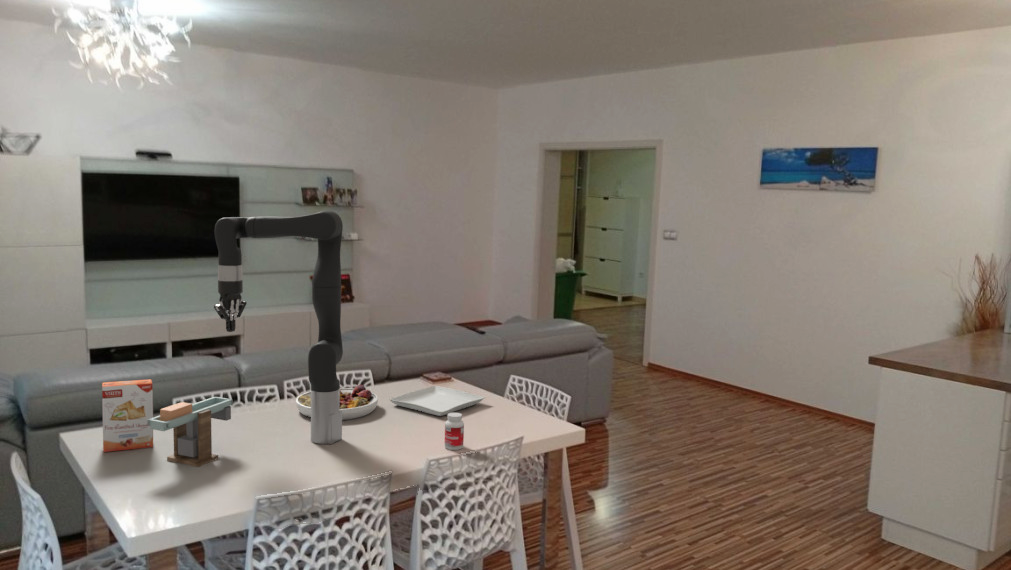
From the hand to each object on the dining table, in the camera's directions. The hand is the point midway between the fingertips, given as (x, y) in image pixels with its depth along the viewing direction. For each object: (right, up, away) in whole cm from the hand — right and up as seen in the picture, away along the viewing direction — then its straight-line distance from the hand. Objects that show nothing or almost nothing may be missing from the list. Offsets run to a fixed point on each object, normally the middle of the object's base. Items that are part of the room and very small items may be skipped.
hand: (230, 331), depth 241 cm
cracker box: (-28, -36, -11) cm, 47 cm away
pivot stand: (-4, -37, -19) cm, 42 cm away
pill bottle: (+73, -38, -1) cm, 83 cm away
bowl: (+27, -33, +36) cm, 55 cm away
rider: (-6, -24, -27) cm, 36 cm away
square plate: (+64, -33, +47) cm, 85 cm away
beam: (-4, -35, -19) cm, 41 cm away
